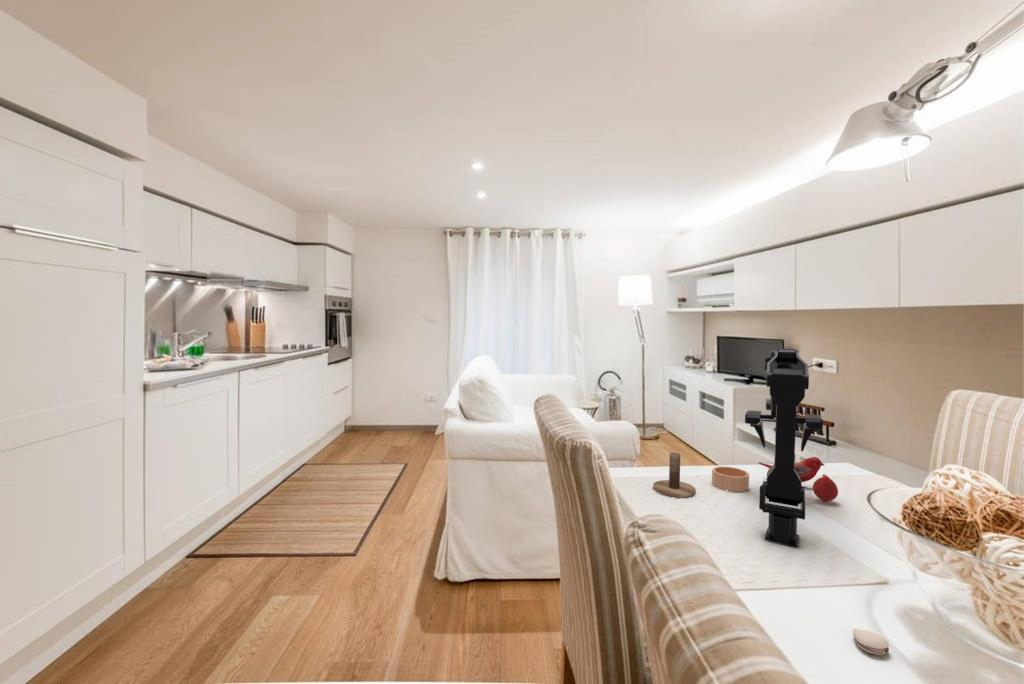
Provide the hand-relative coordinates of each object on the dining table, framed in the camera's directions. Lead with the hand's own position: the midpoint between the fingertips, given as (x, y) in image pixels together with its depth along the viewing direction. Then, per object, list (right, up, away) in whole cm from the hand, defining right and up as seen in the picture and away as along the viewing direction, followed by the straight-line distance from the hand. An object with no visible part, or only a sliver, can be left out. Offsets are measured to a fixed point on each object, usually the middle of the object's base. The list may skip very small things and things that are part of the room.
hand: (782, 449), depth 129 cm
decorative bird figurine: (+9, -14, +11) cm, 20 cm away
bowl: (-10, -14, +10) cm, 20 cm away
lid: (-29, -14, +6) cm, 33 cm away
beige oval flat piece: (-22, -17, -58) cm, 65 cm away
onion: (+11, -15, -2) cm, 18 cm away
